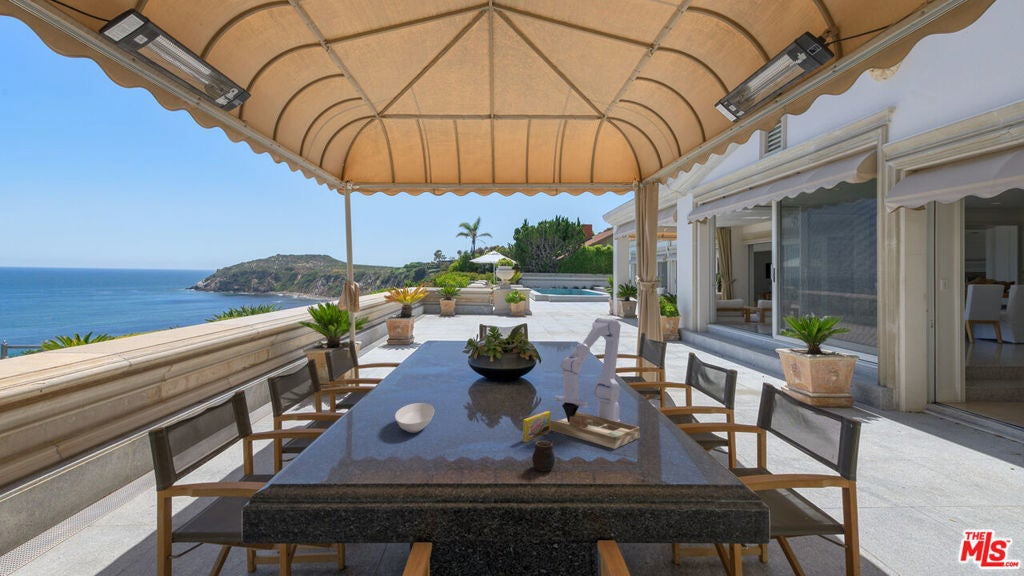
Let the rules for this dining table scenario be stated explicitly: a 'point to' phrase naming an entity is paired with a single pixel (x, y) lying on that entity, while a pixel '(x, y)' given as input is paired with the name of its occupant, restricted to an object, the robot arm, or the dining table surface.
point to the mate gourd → (543, 456)
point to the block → (579, 421)
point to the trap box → (599, 431)
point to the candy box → (536, 426)
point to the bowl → (414, 416)
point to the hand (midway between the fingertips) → (570, 422)
